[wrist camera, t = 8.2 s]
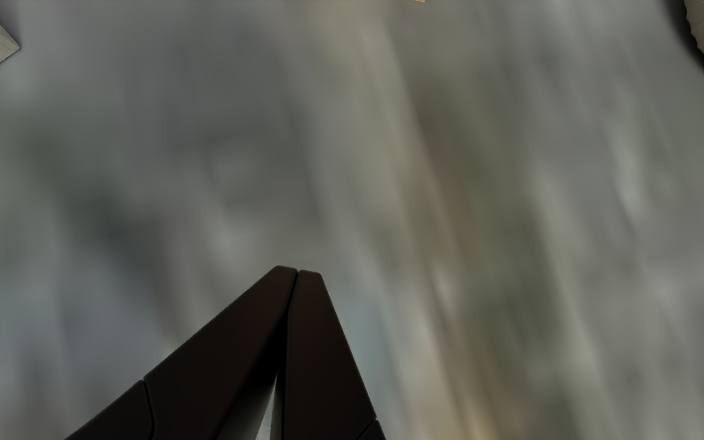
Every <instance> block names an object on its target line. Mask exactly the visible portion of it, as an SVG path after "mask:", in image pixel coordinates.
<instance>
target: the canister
mask: <svg viewBox="0 0 704 440" xmlns="http://www.w3.org/2000/svg"><path fill="white" fill-rule="evenodd" d="M684 5H685V6H686V8H687V16H686V18H687V20H688V21H689V23H690V26H691V34H692V35H693V36H694V37H695V38H696V41H697V43H698V48H699V49H700V50H701V51H702V52H703V53H704V0H684Z"/></svg>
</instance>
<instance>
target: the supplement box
mask: <svg viewBox="0 0 704 440" xmlns="http://www.w3.org/2000/svg"><path fill="white" fill-rule="evenodd" d="M19 48H20V46H19V45H18V44H17V43H16V42H15V41H14V40H13V39H12V37H11V36H10V35H9V34H8V33H7V32H6V30H5V29H4V28H3V27H2V26H1V25H0V62H1V61H3V60H4V59H5V58H7V57H8V56H10V55H11V54H13V53H14V52H16V51H17V50H18V49H19Z"/></svg>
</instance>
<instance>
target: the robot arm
mask: <svg viewBox="0 0 704 440" xmlns="http://www.w3.org/2000/svg"><path fill="white" fill-rule="evenodd" d="M276 377H277V379H276ZM275 381H276V385H275ZM274 385H275V392H274V401H273V411H272V421H271V432H270V440H386V438H385V436H384V433H383V431H382V428H381V426H380V423H379V421H378V420H376V418H377V416H376V413H375V411H374V408H373V406H372V403H371V401H370V398H369V396H368V393H367V391H366V388H365V385H364V383H363V380H362V378H361V375H360V373H359V370H358V368H357V365H356V363H355V360H354V357H353V355H352V352H351V350H350V347H349V345H348V342H347V340H346V337H345V335H344V332H343V329H342V327H341V324H340V322H339V319H338V317H337V314H336V312H335V309H334V307H333V304H332V301H331V299H330V296H329V294H328V291H327V289H326V286H325V284H324V281H323V279H322V276H321V274H319V273H317V272H312V271H306V270H300V271H299V272H298V271H297V269H295V268H290V267H285V266H275V267H274V268H273V269H272V270H270V271H269V272H268V273H267V274H266V275H265V276H263V277H262V278H261V279H260V280H259V281H257V282H256V283H255V284H254V285H253V286H251V287H250V288H249V289H248V290H247V291H245V292H244V293H243V294H242V295H241V296H240V297H238V298H237V299H236V300H235V301H234V302H232V303H231V304H230V305H229V306H228V307H226V308H225V309H224V310H223V311H222V312H220V313H219V314H218V315H217V316H216V317H215V318H213V319H212V320H211V321H210V322H209V323H207V324H206V325H205V326H204V327H203V328H201V329H200V330H199V331H198V332H197V333H195V334H194V335H193V336H192V337H191V338H190V339H188V340H187V341H186V342H185V343H184V344H182V345H181V346H180V347H179V348H178V349H176V350H175V351H174V352H173V353H172V354H170V355H169V356H168V357H167V358H166V359H165V360H163V361H162V362H161V363H160V364H159V365H157V366H156V367H155V368H154V369H153V370H151V371H150V372H149V373H148V374H147V375H145V376H144V378H143V380H139V381H138V382H137V383H136V384H134V385H133V386H132V387H131V388H130V389H128V390H127V391H126V392H125V393H124V394H123V395H121V396H120V397H119V398H118V399H116V400H115V401H114V402H113V403H111V404H110V405H109V406H108V407H106V408H105V409H104V410H103V411H101V412H100V413H99V414H98V415H96V416H95V417H94V418H93V419H91V420H90V421H89V422H88V423H86V424H85V425H84V426H82V427H81V428H80V429H78V430H77V431H75V432H74V433H73V434H71V435H70V436H69V437H67V438H66V439H64V440H255V439H256V436H257V433H258V431H259V428H260V425H261V422H262V420H263V417H264V414H265V411H266V408H267V406H268V403H269V400H270V397H271V394H272V391H273V388H274Z"/></svg>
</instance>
